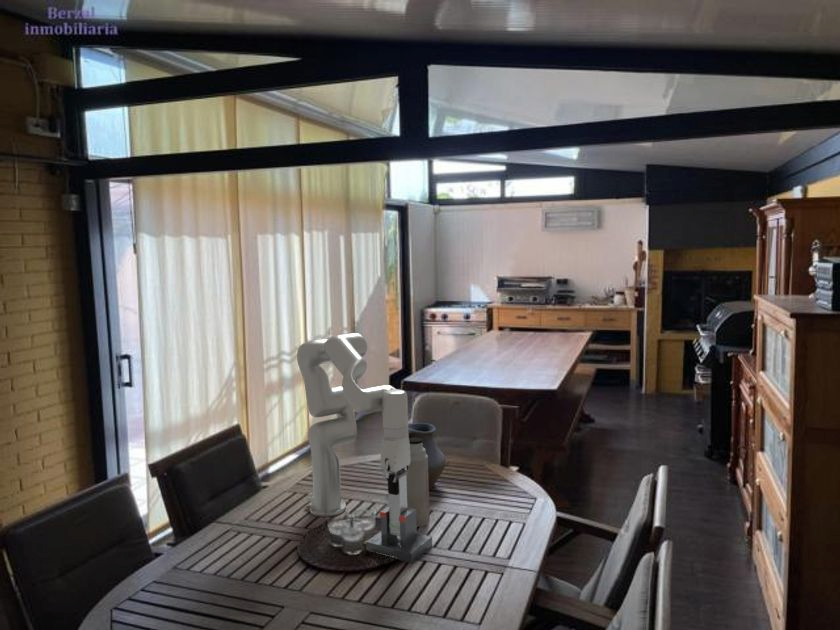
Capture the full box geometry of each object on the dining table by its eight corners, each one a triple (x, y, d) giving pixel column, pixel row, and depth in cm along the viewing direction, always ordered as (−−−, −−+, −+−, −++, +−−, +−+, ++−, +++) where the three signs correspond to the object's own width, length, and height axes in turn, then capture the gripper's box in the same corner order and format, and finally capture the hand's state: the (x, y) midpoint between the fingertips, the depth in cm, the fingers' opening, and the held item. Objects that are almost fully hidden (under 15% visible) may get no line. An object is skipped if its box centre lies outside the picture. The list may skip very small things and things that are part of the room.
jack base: (366, 551, 189) (364, 512, 188) (388, 535, 199) (387, 498, 198) (411, 563, 181) (410, 523, 180) (432, 546, 191) (431, 508, 190)
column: (387, 534, 189) (385, 473, 187) (396, 527, 193) (394, 468, 191) (401, 537, 186) (399, 475, 184) (409, 530, 190) (408, 470, 188)
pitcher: (456, 483, 242) (455, 419, 240) (426, 502, 224) (424, 434, 222) (411, 474, 253) (409, 413, 251) (379, 492, 235) (377, 427, 233)
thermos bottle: (431, 517, 212) (429, 436, 209) (427, 527, 204) (424, 443, 201) (408, 515, 213) (406, 435, 211) (403, 525, 206) (400, 442, 203)
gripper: (400, 423, 195) (401, 480, 197) (369, 437, 181) (371, 499, 183) (421, 426, 192) (422, 484, 193) (390, 441, 177) (392, 503, 179)
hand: (397, 490), depth 188 cm, fingers closed on column, 4 cm apart
